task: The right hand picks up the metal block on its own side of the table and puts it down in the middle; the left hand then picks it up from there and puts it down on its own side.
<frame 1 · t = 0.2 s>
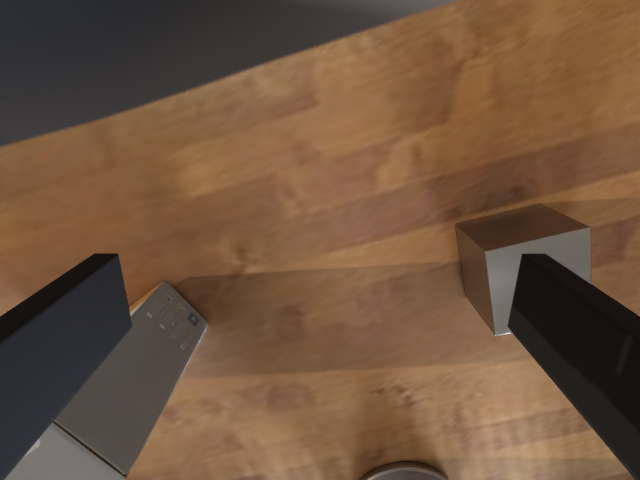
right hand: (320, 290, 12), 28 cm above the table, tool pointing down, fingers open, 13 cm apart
hard drive box: (143, 333, 46), on the table
block: (500, 251, 42), on the table
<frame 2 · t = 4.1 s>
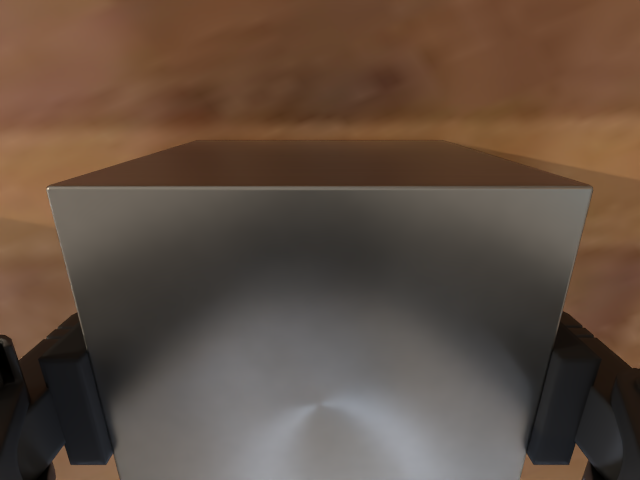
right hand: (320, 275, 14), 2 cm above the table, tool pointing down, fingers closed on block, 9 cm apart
block: (319, 255, 15), on the table, touching right hand
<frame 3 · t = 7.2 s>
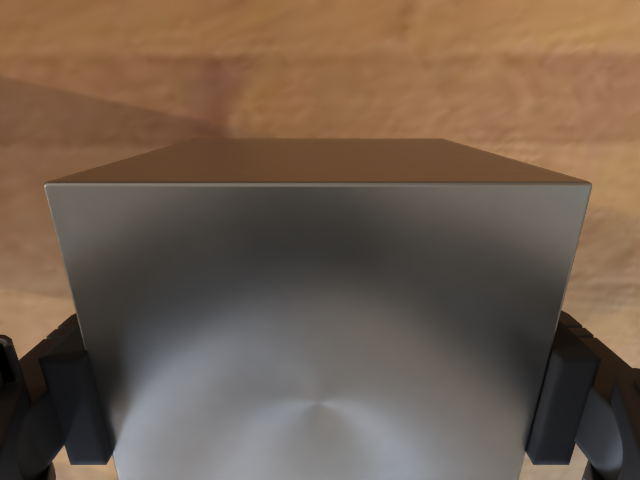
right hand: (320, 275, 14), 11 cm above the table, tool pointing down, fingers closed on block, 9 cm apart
block: (319, 254, 15), point 10 cm above the table, touching right hand
when the right hand's fingers open (3 cm above the table, at t = 10.4 s): block drops 2 cm, on the table.
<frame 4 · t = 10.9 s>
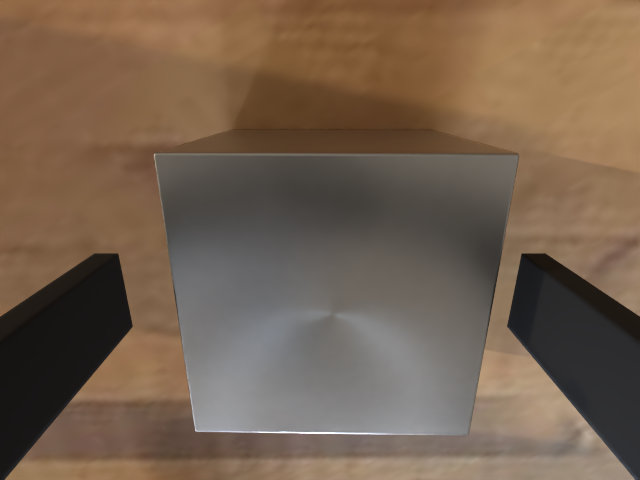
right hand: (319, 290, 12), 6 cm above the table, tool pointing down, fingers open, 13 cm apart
block: (330, 227, 18), on the table
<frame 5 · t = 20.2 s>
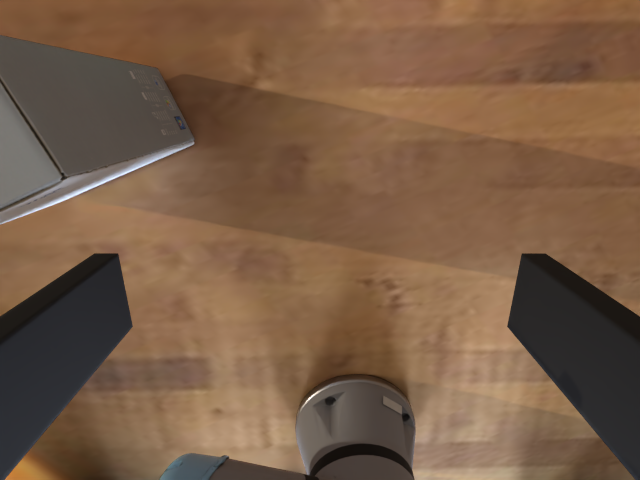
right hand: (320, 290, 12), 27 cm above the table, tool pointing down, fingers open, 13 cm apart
hard drive box: (110, 136, 37), on the table
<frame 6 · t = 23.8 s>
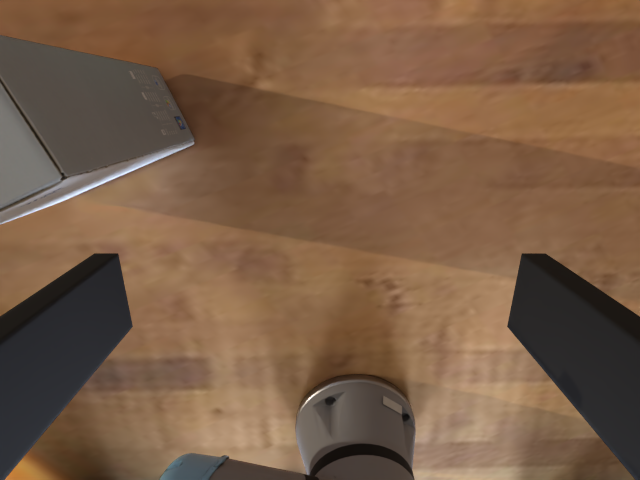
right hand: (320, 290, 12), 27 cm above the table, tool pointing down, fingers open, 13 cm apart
hard drive box: (110, 136, 37), on the table
when the left hand's fingers open (3 cm above the table, at t = 27.4 s): block drops 2 cm, on the table.
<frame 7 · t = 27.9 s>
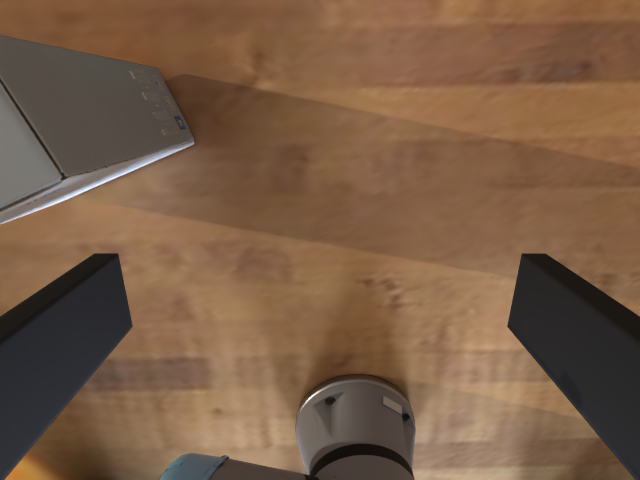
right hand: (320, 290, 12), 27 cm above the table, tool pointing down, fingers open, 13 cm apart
hard drive box: (110, 136, 37), on the table
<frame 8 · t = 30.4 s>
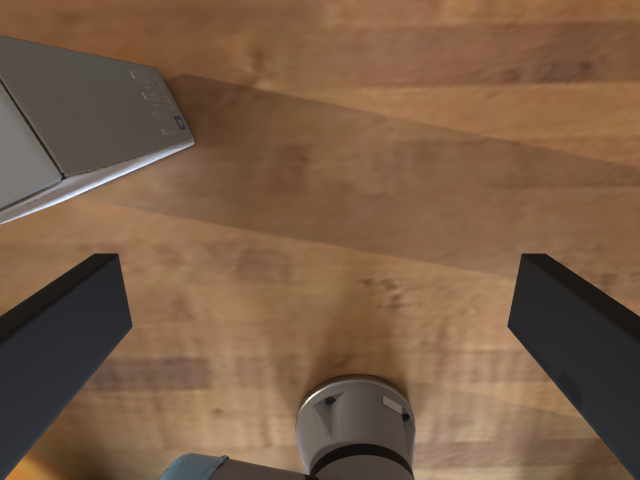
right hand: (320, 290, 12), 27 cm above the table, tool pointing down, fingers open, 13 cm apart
hard drive box: (110, 136, 37), on the table
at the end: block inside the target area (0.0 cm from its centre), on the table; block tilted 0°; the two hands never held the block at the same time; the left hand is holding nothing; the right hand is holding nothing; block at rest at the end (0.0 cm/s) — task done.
